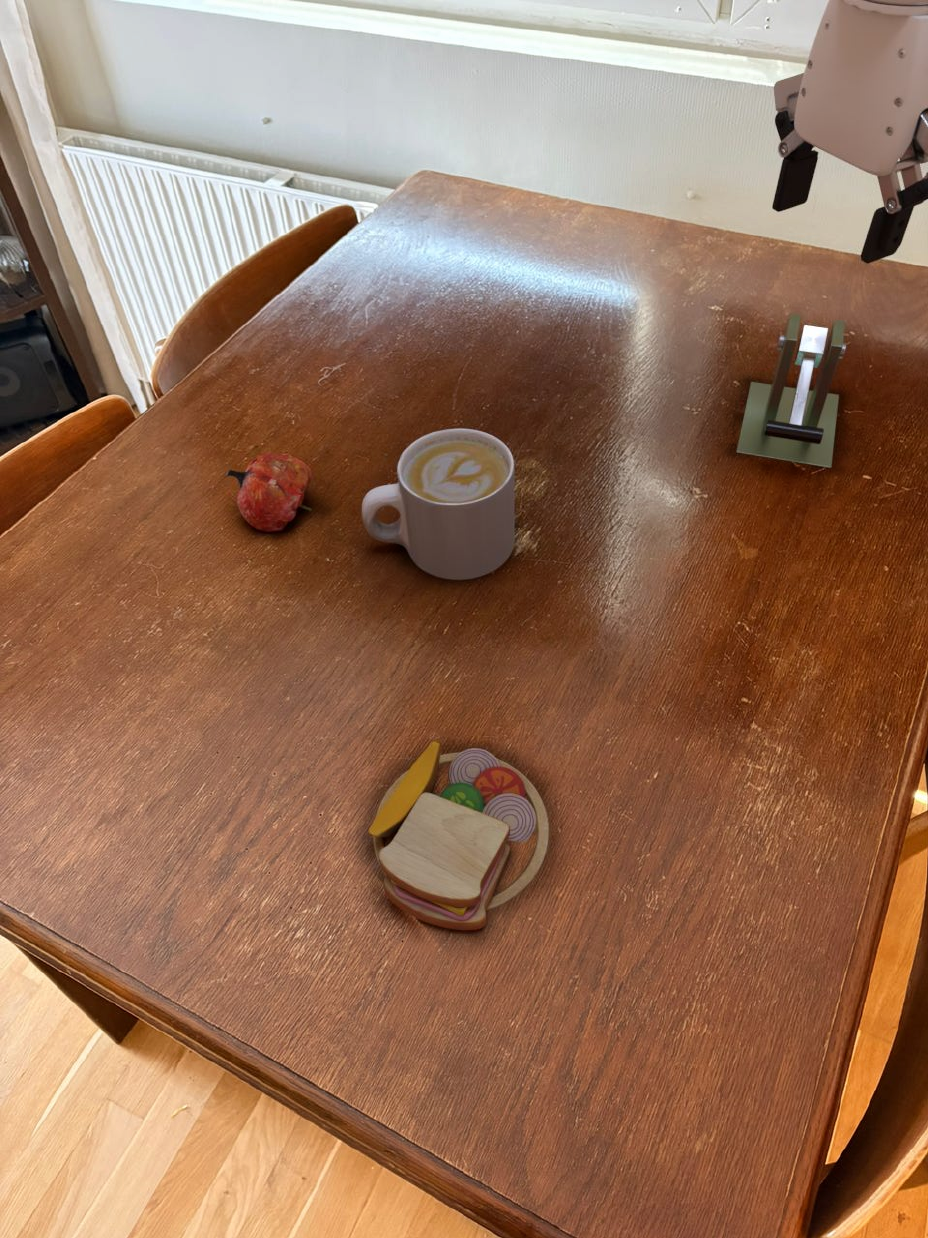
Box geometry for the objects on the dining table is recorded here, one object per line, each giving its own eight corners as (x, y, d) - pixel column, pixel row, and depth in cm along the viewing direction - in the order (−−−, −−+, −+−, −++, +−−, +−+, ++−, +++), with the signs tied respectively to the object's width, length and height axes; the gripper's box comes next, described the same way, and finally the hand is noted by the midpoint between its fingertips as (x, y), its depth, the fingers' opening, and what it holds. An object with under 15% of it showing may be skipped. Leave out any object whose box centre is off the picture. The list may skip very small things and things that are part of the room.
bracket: (828, 476, 87) (864, 373, 78) (734, 461, 89) (758, 358, 80) (836, 403, 94) (869, 301, 85) (748, 390, 97) (773, 289, 88)
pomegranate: (319, 506, 91) (229, 456, 87) (352, 471, 86) (257, 416, 82) (298, 563, 87) (203, 514, 83) (330, 531, 82) (230, 476, 78)
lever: (817, 449, 83) (823, 437, 80) (762, 440, 84) (765, 428, 82) (838, 344, 85) (844, 329, 83) (784, 337, 86) (788, 322, 84)
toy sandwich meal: (579, 809, 66) (583, 777, 62) (481, 969, 58) (479, 942, 55) (438, 734, 70) (433, 699, 67) (331, 873, 63) (320, 843, 60)
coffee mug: (516, 512, 86) (516, 428, 78) (512, 589, 80) (512, 506, 72) (378, 509, 87) (365, 427, 79) (364, 585, 81) (348, 503, 73)
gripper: (1062, -6, 53) (953, 265, 67) (850, -69, 63) (792, 177, 77) (972, 19, 51) (878, 294, 64) (768, -50, 61) (722, 200, 74)
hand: (831, 230), depth 71 cm, fingers open, 9 cm apart
